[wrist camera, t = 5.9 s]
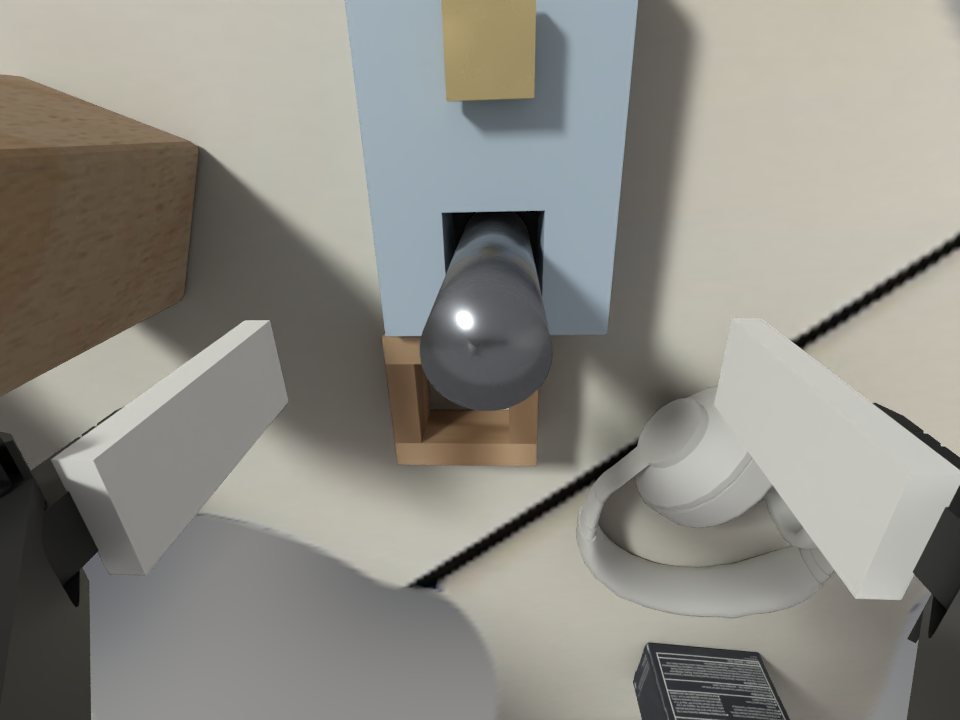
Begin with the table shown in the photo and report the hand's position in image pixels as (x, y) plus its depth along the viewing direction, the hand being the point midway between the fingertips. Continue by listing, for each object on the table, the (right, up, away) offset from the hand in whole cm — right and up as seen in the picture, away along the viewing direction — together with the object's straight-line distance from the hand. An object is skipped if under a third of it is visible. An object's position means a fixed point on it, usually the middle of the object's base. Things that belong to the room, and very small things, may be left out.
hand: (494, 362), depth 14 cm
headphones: (+16, -9, +22) cm, 29 cm away
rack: (-1, -1, +19) cm, 19 cm away
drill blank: (+1, +7, +15) cm, 17 cm away
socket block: (0, +12, +13) cm, 17 cm away
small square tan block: (0, +15, +10) cm, 18 cm away
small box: (+20, -29, +31) cm, 47 cm away
